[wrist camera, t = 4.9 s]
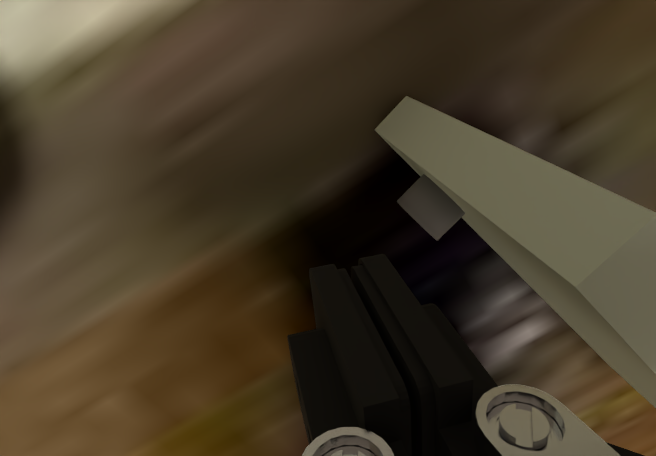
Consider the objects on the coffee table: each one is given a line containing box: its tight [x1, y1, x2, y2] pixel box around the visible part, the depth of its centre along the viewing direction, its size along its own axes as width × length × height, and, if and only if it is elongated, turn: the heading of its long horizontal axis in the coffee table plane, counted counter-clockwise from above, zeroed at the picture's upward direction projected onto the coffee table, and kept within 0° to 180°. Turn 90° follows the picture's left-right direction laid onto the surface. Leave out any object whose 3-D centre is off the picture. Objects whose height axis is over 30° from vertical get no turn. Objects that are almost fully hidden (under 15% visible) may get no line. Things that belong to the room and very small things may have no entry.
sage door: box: [375, 96, 656, 408], centre depth 16 cm, size 20×3×12 cm, turn 46°
